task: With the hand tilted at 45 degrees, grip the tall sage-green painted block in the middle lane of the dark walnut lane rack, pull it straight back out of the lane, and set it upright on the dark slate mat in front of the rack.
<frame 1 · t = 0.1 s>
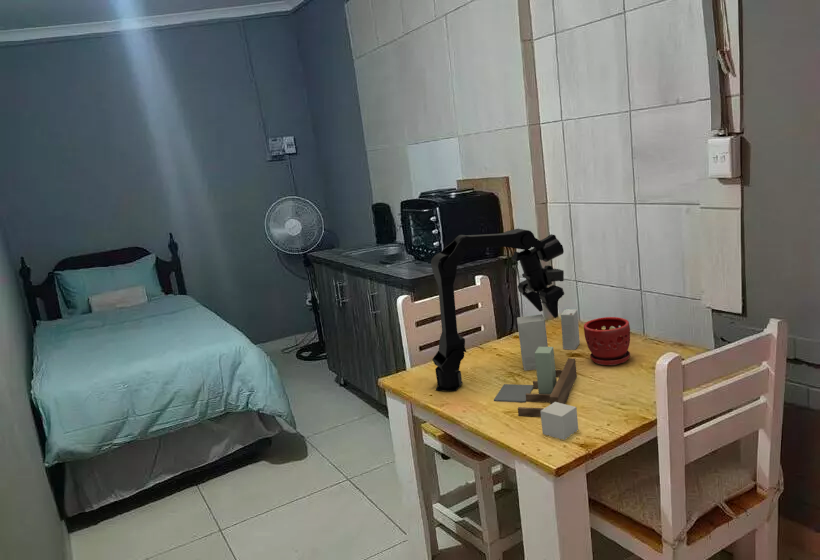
hand: (548, 314, 189), 15 cm above the table, tool pointing down, fingers open, 9 cm apart
sage block: (548, 395, 169), on the table
light grey cube: (560, 433, 147), on the table
lane rack: (544, 394, 169), on the table
skincare box 2: (571, 347, 203), on the table
plant pot: (609, 361, 187), on the table
slate mat: (514, 393, 173), on the table
skincare box: (535, 367, 191), on the table
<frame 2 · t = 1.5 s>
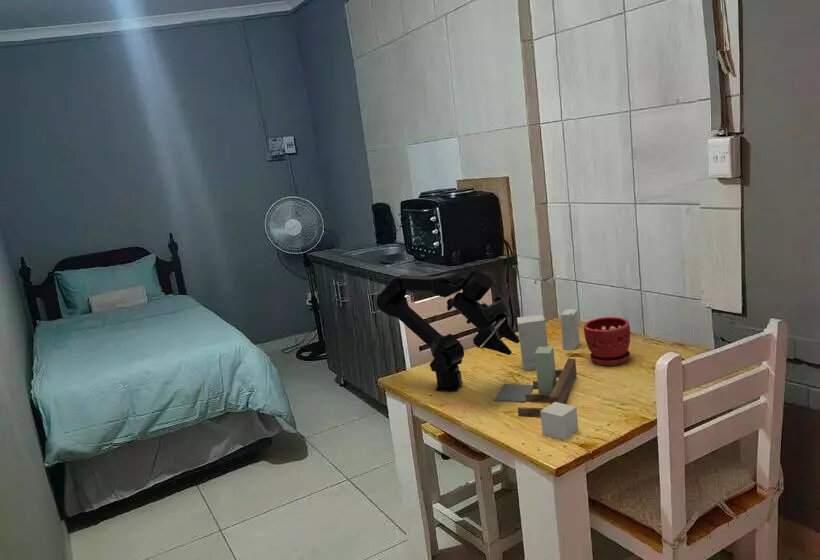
hand: (514, 347, 170), 13 cm above the table, tool tilted 45°, fingers open, 9 cm apart
nothing on the table moved.
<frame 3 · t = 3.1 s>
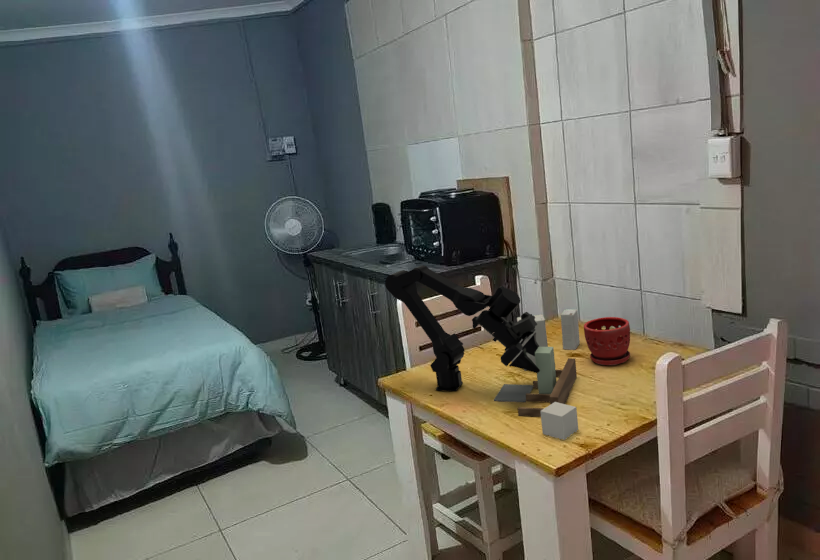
hand: (542, 365, 167), 8 cm above the table, tool tilted 45°, fingers open, 9 cm apart
nothing on the table moved.
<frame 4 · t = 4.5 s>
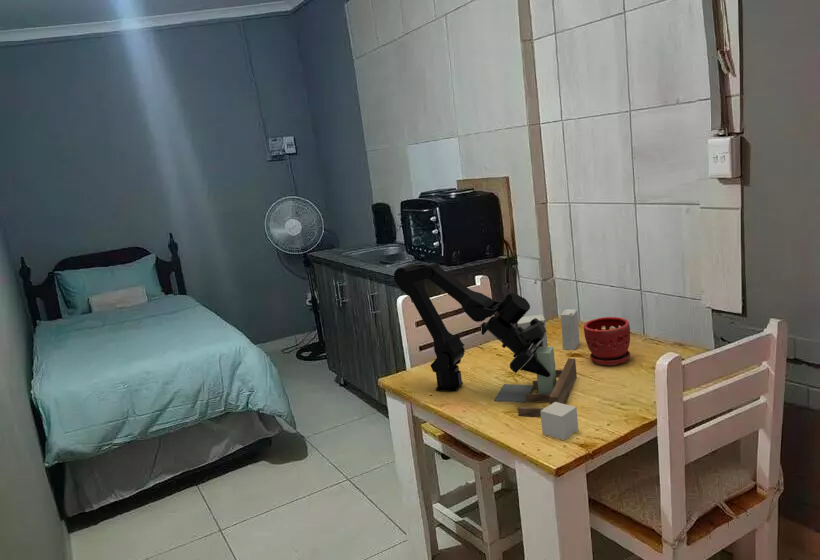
hand: (551, 372, 167), 7 cm above the table, tool tilted 45°, fingers closed on sage block, 5 cm apart
sage block: (548, 394, 169), on the table, touching gripper
everything else where it was.
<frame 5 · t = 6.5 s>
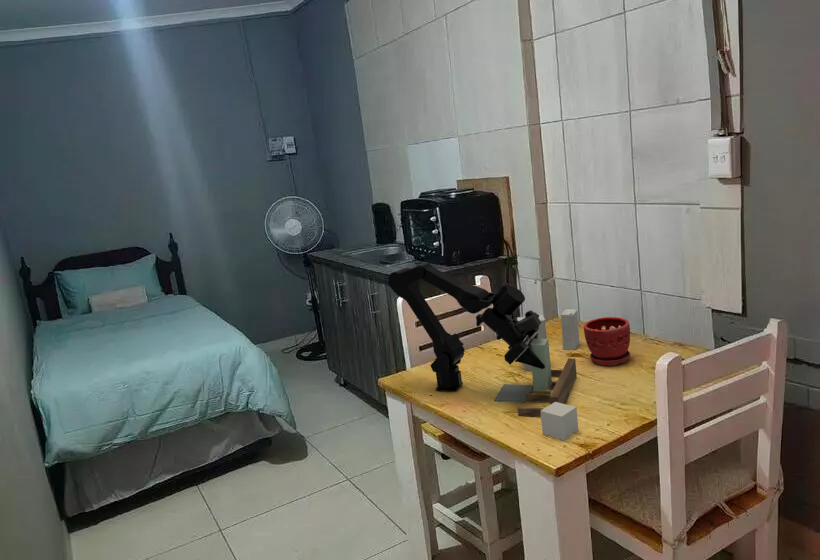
hand: (546, 364, 167), 9 cm above the table, tool tilted 45°, fingers closed on sage block, 5 cm apart
sage block: (543, 386, 169), point 2 cm above the table, touching gripper
everything else where it was.
when the fingers open (8 cm above the table, at t = 8.9 s): sage block stays where it is, resting on slate mat.
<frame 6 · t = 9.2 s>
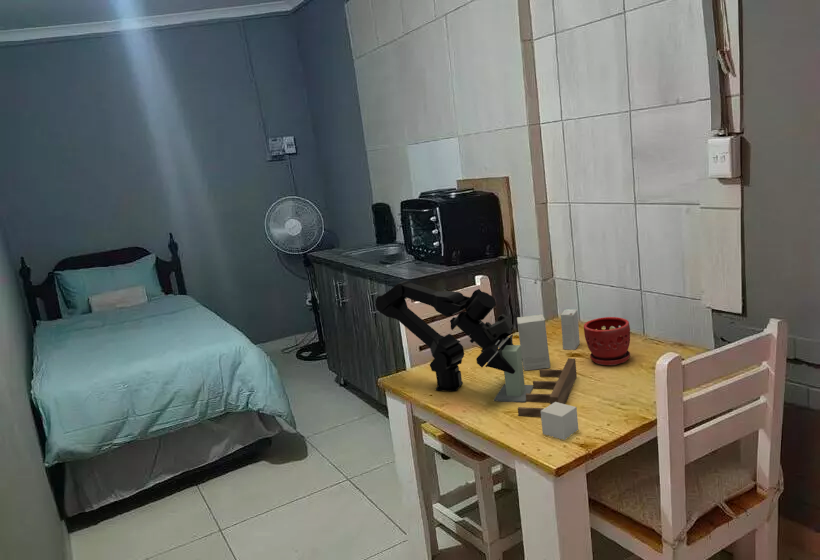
hand: (518, 366, 170), 8 cm above the table, tool tilted 45°, fingers open, 8 cm apart
sage block: (515, 392, 172), resting on slate mat
everything else where it was.
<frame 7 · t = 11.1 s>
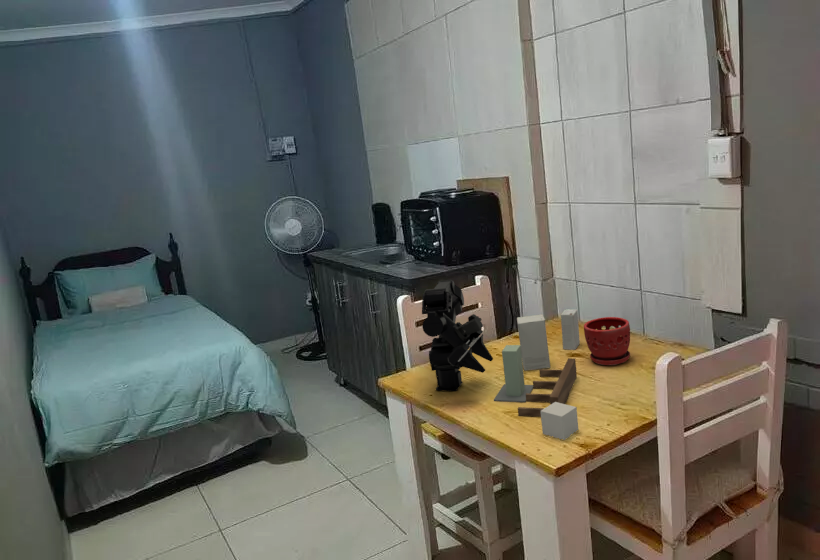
hand: (488, 365, 174), 8 cm above the table, tool tilted 45°, fingers open, 9 cm apart
nothing on the table moved.
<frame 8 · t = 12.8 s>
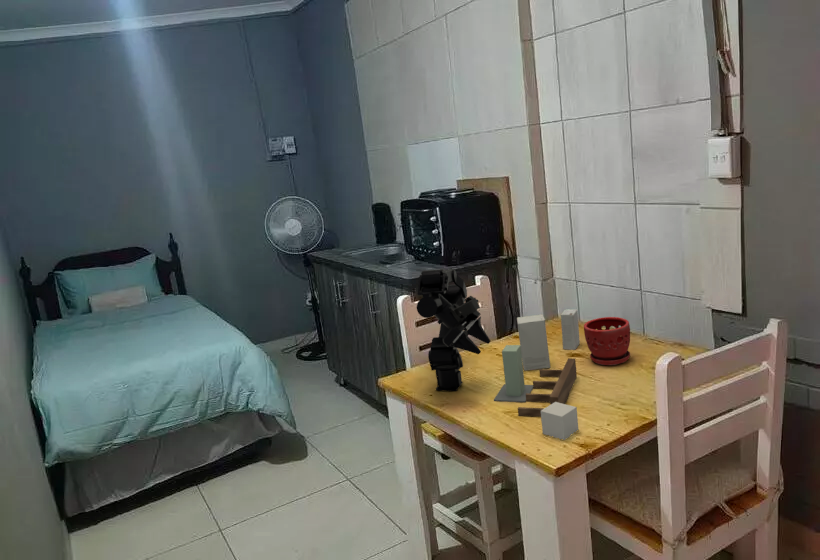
hand: (484, 347, 172), 14 cm above the table, tool tilted 45°, fingers open, 9 cm apart
nothing on the table moved.
at the end: sage block inside the target area (0.0 cm from its centre), resting on slate mat; sage block tilted 0°; the gripper is holding nothing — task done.
